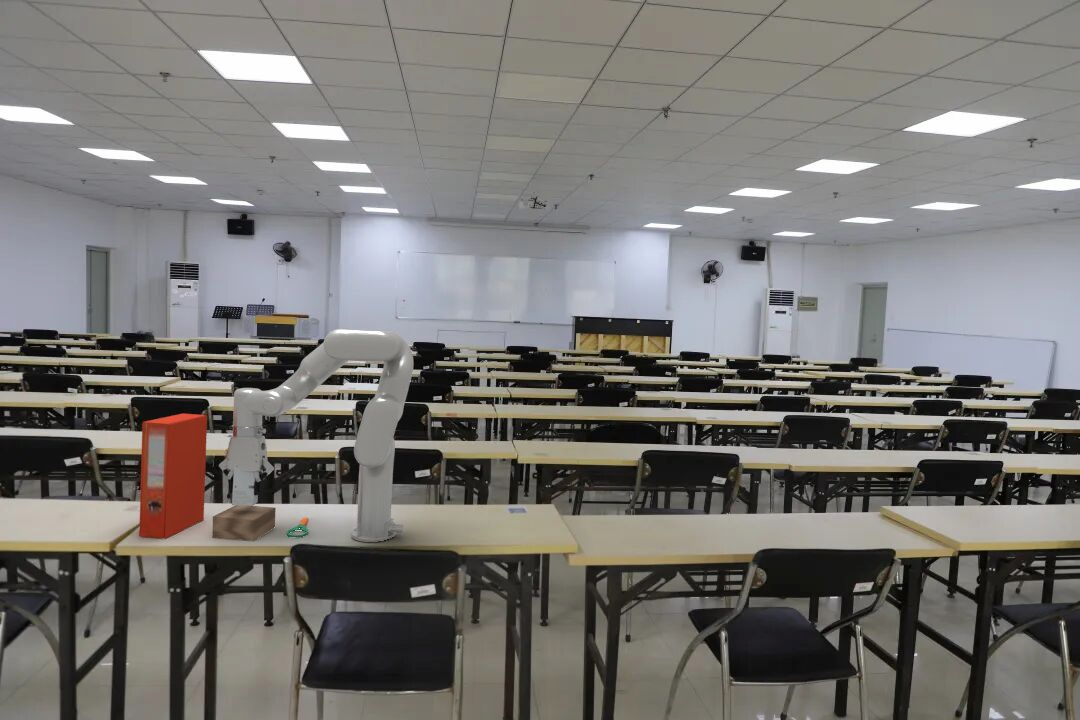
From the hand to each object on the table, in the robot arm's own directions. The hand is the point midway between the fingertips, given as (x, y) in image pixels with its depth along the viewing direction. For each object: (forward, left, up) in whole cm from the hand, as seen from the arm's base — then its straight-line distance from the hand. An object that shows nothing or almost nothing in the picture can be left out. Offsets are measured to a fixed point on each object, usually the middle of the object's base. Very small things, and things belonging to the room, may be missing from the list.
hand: (245, 492), depth 183 cm
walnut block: (0, 0, -12) cm, 12 cm away
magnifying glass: (-14, -6, -12) cm, 19 cm away
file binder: (+21, +1, -12) cm, 24 cm away
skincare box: (0, 0, -3) cm, 3 cm away
